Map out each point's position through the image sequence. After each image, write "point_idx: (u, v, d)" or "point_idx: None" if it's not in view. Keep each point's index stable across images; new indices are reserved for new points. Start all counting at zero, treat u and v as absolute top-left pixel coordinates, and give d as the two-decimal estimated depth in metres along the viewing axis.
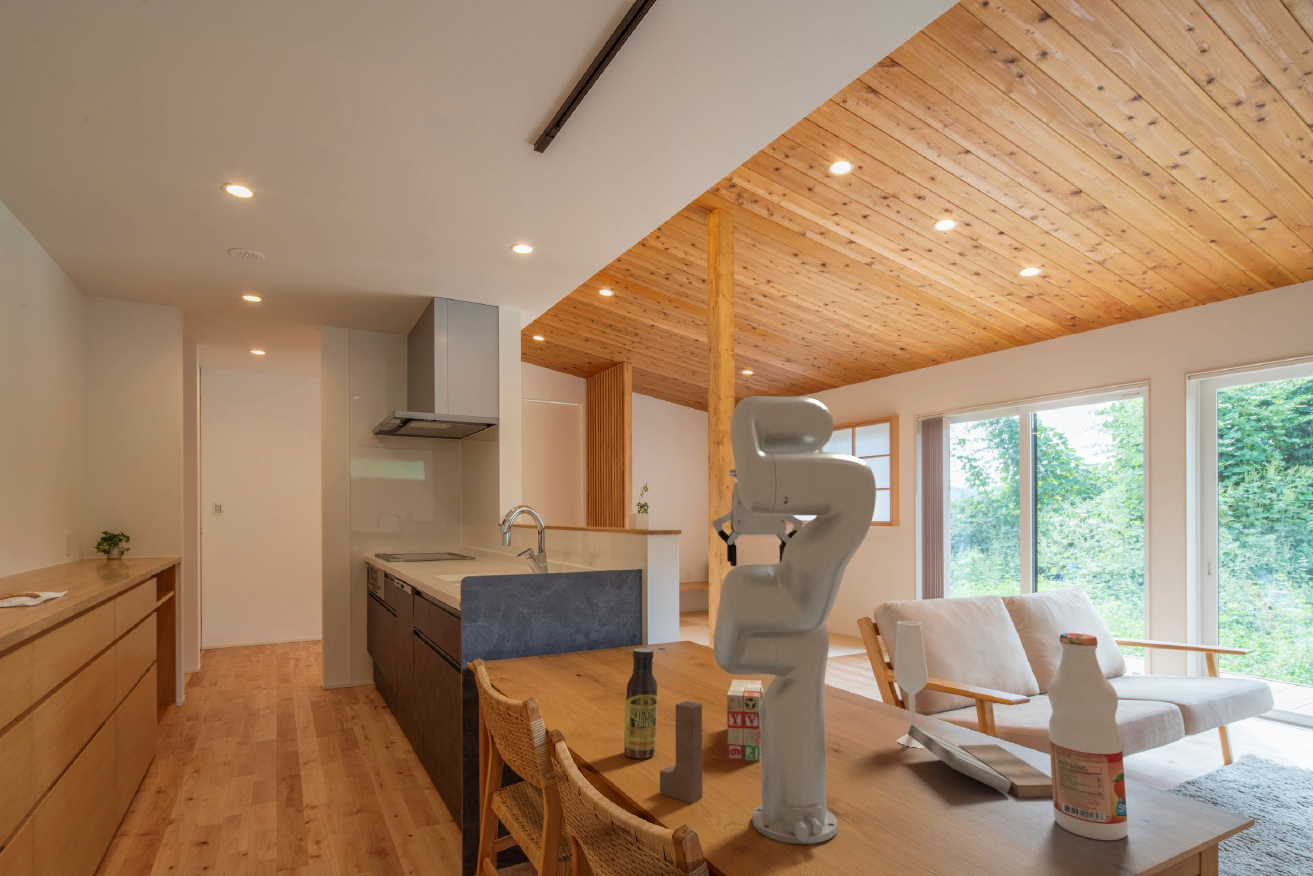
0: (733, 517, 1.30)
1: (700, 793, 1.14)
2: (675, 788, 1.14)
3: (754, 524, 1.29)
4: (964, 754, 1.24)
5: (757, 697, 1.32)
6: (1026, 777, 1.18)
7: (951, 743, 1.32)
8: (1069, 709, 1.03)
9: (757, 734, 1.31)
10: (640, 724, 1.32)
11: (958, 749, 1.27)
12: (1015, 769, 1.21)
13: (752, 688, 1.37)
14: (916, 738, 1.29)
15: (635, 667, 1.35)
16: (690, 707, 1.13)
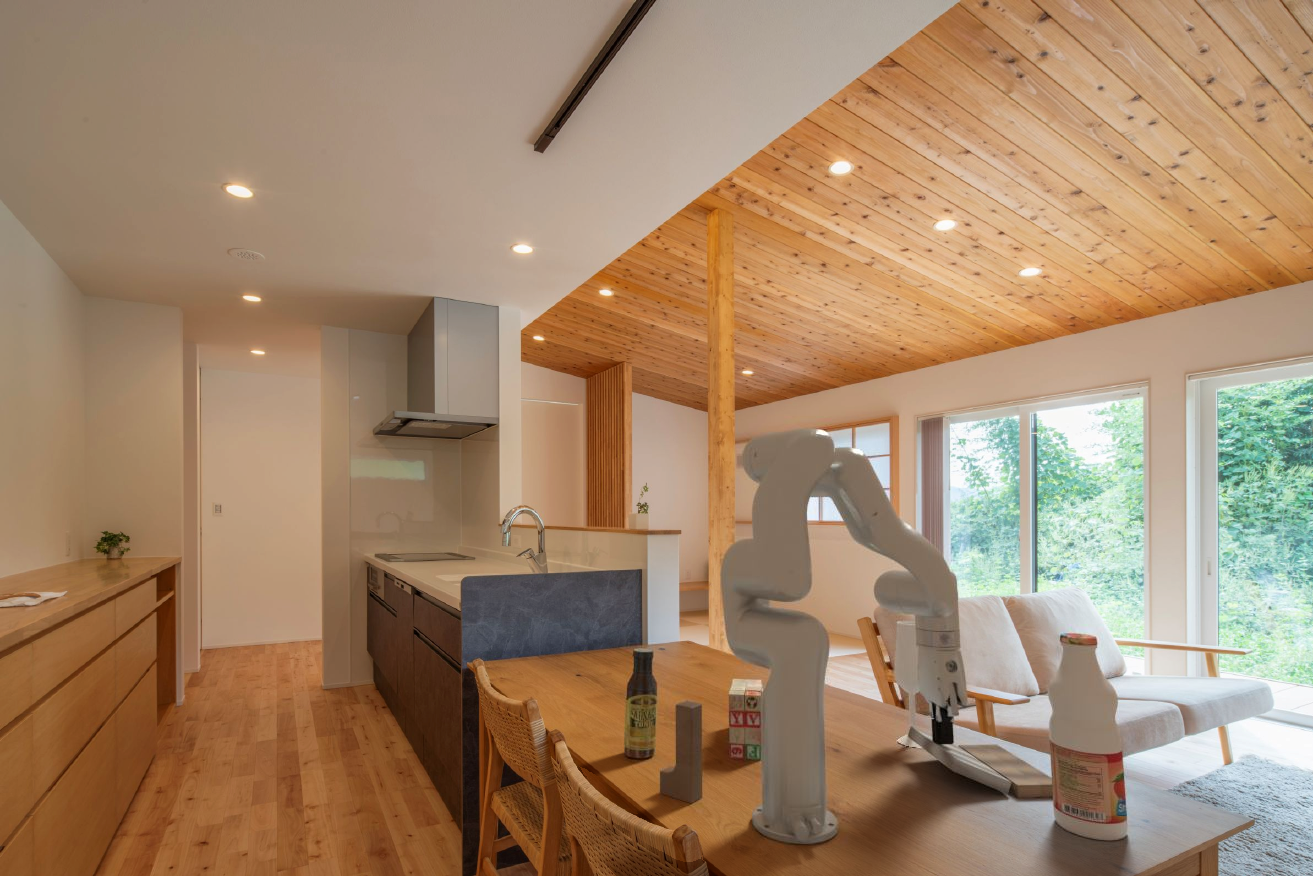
0: (963, 690, 1.20)
1: (700, 793, 1.14)
2: (675, 788, 1.14)
3: None
4: (964, 755, 1.24)
5: (758, 696, 1.33)
6: (1026, 777, 1.18)
7: None
8: (1069, 709, 1.03)
9: (759, 733, 1.32)
10: (640, 724, 1.32)
11: (958, 750, 1.27)
12: (1015, 769, 1.21)
13: (753, 687, 1.38)
14: (916, 740, 1.29)
15: (635, 667, 1.35)
16: (690, 707, 1.13)
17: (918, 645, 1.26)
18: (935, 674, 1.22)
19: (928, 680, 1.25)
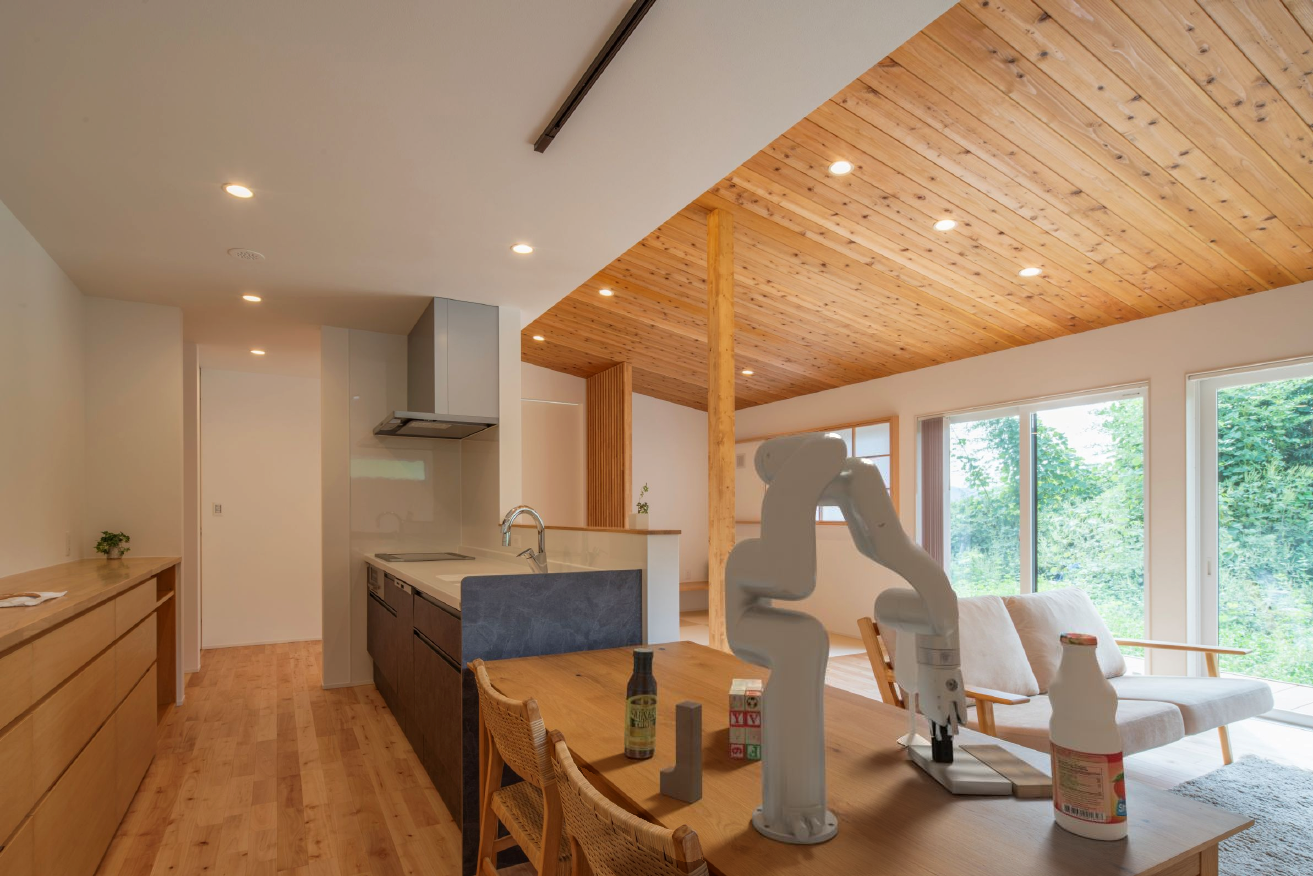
0: (963, 709, 1.20)
1: (700, 793, 1.14)
2: (675, 788, 1.14)
3: None
4: (962, 763, 1.24)
5: (759, 696, 1.33)
6: (1026, 777, 1.18)
7: None
8: (1069, 709, 1.03)
9: (759, 733, 1.32)
10: (640, 724, 1.32)
11: (957, 756, 1.27)
12: (1015, 769, 1.21)
13: (753, 687, 1.38)
14: (915, 760, 1.29)
15: (635, 667, 1.35)
16: (690, 707, 1.13)
17: (918, 663, 1.25)
18: (935, 692, 1.22)
19: (928, 698, 1.24)
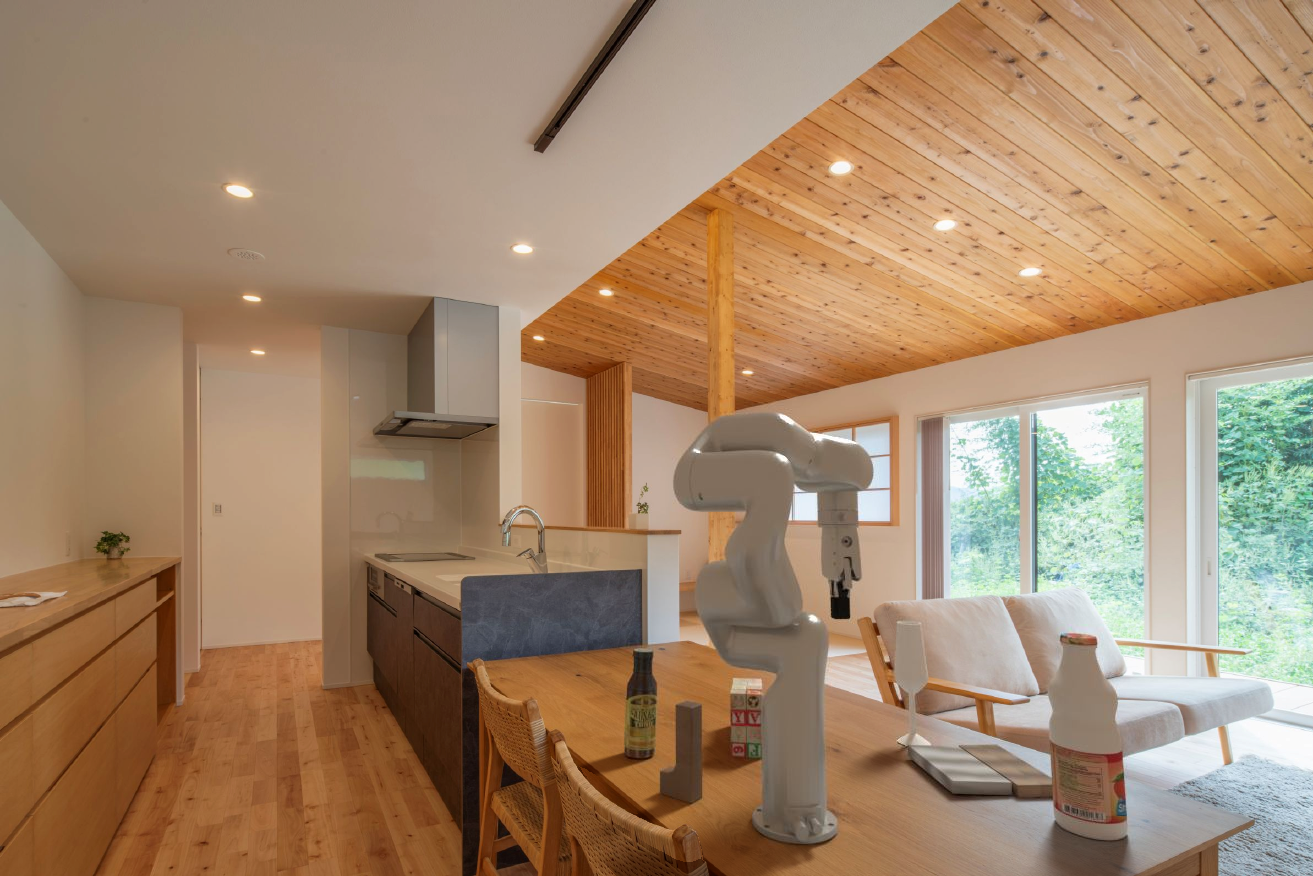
0: (857, 564, 1.26)
1: (700, 793, 1.14)
2: (675, 788, 1.14)
3: None
4: (962, 763, 1.24)
5: (760, 695, 1.33)
6: (1026, 777, 1.18)
7: (950, 747, 1.32)
8: (1069, 709, 1.03)
9: (760, 732, 1.33)
10: (640, 724, 1.32)
11: (957, 756, 1.27)
12: (1015, 769, 1.21)
13: (754, 686, 1.38)
14: (915, 760, 1.29)
15: (635, 667, 1.35)
16: (690, 707, 1.13)
17: (818, 525, 1.31)
18: (832, 550, 1.27)
19: (827, 558, 1.30)
